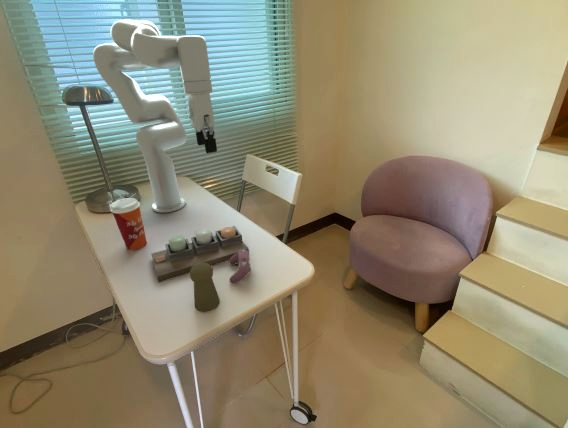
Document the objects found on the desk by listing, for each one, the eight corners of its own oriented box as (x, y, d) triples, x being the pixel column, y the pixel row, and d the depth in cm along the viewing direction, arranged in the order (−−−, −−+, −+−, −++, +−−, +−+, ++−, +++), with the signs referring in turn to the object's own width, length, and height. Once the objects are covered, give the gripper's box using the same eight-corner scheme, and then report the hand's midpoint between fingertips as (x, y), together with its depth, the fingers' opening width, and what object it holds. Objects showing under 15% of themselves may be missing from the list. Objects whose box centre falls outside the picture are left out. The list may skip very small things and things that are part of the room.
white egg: (195, 239, 95) (193, 231, 93) (209, 235, 97) (208, 227, 95) (198, 246, 91) (197, 238, 90) (213, 242, 93) (212, 234, 92)
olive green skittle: (218, 311, 74) (212, 274, 69) (192, 313, 74) (184, 276, 69) (220, 293, 80) (215, 258, 74) (196, 295, 79) (189, 259, 74)
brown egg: (220, 237, 99) (218, 229, 97) (233, 233, 100) (232, 225, 99) (224, 244, 95) (223, 235, 94) (238, 240, 97) (237, 231, 95)
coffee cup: (140, 253, 97) (127, 209, 90) (117, 250, 98) (102, 208, 91) (155, 238, 104) (144, 197, 97) (133, 236, 105) (121, 195, 98)
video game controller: (244, 287, 84) (254, 267, 81) (228, 284, 82) (238, 263, 79) (242, 265, 92) (251, 246, 90) (227, 261, 91) (236, 242, 88)
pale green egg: (169, 246, 92) (167, 238, 91) (184, 242, 94) (183, 234, 92) (172, 254, 88) (170, 245, 87) (188, 249, 90) (186, 241, 89)
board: (152, 259, 94) (149, 246, 91) (235, 235, 104) (234, 224, 102) (158, 282, 84) (154, 269, 82) (249, 254, 94) (247, 241, 92)
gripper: (178, 85, 92) (188, 143, 100) (191, 91, 78) (201, 158, 86) (203, 83, 95) (211, 140, 103) (220, 88, 81) (228, 153, 89)
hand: (207, 148), depth 95 cm, fingers open, 9 cm apart
